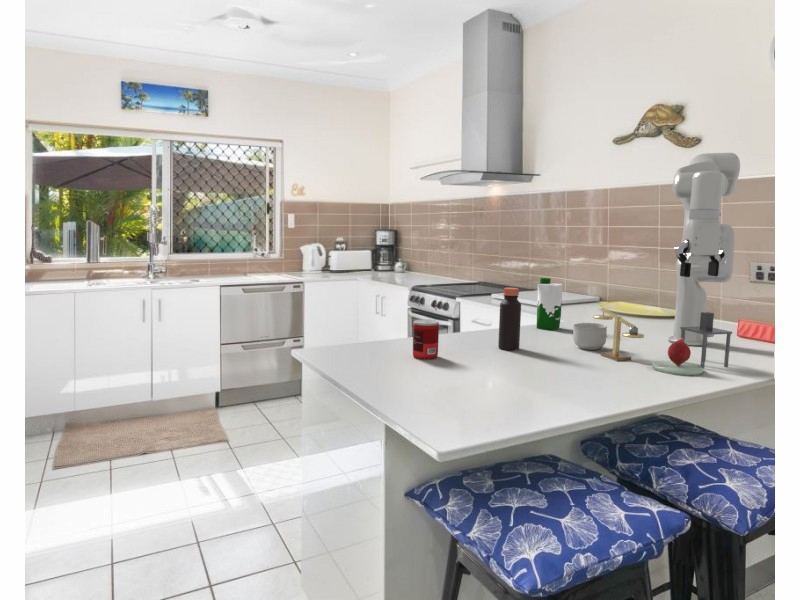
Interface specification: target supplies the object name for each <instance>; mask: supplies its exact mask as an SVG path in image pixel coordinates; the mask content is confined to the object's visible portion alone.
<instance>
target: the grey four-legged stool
mask: <svg viewBox="0 0 800 600" xmlns="http://www.w3.org/2000/svg"><path fill="white" fill-rule="evenodd" d="M714 317H715V313H714V312H710V311H709V312H708V311H705V312H701V318H700V326H698V327H681V328H680V329H682V332H681V338H683V339H684V340H685V330H687V331H691V332H695V333H699V334H703V343H702V346H701V347H702V348H701V356H700V359H701V360H700V366H701V367H703V370H704V369H705V363H706V361H707V360H706V359H707V358H706V357H707V349H708V348H707V347H708V346H707V345H708V344H707V341H708V338H709V337H708V335H714V336H715V335H726V338H725V349H724V350H725V351H724V361H723V367H724V368H728V367H729V358H730V357H729V356H730V346H731V336H732V334H733V331H731V330H725V329H722V328H717V327H713V326H714ZM684 340H683V342H684Z"/></svg>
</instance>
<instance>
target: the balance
mask: <svg viewBox="0 0 800 600" xmlns="http://www.w3.org/2000/svg"><path fill="white" fill-rule="evenodd" d="M600 311H602V314H594V315H593V316H592V318H593V319H595V320H596V319H597V320H602V321H603V320H604V321H605V320H607V321H609V320H614V325H613V341H612V351H601V352H600V356H602V357H603V358H608V359H610V360H612V361H616V362H623V361H624V362H626V361H627V362H628V361H632V357H631V356H629V355H625V354H623V353H620V347H621V346H620V345H621V335H622V337H625V338H630V339H643V338H645V334H643V333H640V332H639V327H637V326H636V325H635V324H633V323H631V322H629V321H628V320H626V319H624V318H623V317H622V316H619V315H618V314H616V313H614V312H612V311H611V310H609V309H607V308H605V307H602V308H601V310H600ZM606 314H607V315H606ZM622 324H624V325H625V326H626V327H629V328H628V329H629V330H628V331H627V332H623V333H622ZM621 333H622V334H621Z"/></svg>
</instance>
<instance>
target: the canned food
mask: <svg viewBox="0 0 800 600" xmlns="http://www.w3.org/2000/svg"><path fill="white" fill-rule="evenodd" d="M412 325H413V326H412V357H413V358H415V359H418V360H434V359H437V357H438V355H439V335H440V334H439V333H440V331H439V330H440V329H439V328H440V327H439V326H440V321H439V320H435V319H425V318H424V319H423V318H422V319H416V320H413V324H412Z"/></svg>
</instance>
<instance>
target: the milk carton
mask: <svg viewBox="0 0 800 600" xmlns="http://www.w3.org/2000/svg"><path fill="white" fill-rule="evenodd" d="M551 280H552V279H551V278H549V277H541V278H539V283H537V304H536V306H537V309H536V329H537V330H538V329H539V330H548V331H556V330H557V329H559V328H560V325H561V318H562V304H563V303H562V302H563V301H562V300H563V283H556V282H554V283H553V282H551Z"/></svg>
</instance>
